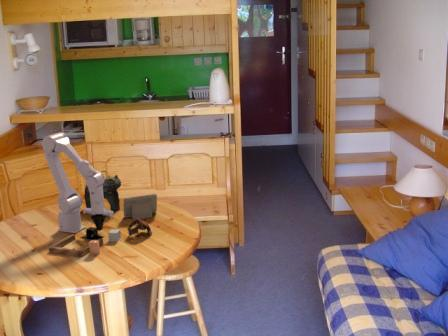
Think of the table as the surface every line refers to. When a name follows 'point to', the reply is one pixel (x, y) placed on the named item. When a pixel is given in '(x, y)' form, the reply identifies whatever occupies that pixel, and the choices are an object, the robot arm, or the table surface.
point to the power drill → (107, 192)
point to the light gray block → (114, 235)
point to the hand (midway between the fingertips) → (100, 229)
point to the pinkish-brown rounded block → (94, 247)
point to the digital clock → (140, 206)
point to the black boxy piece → (92, 234)
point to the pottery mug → (139, 226)
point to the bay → (57, 249)
